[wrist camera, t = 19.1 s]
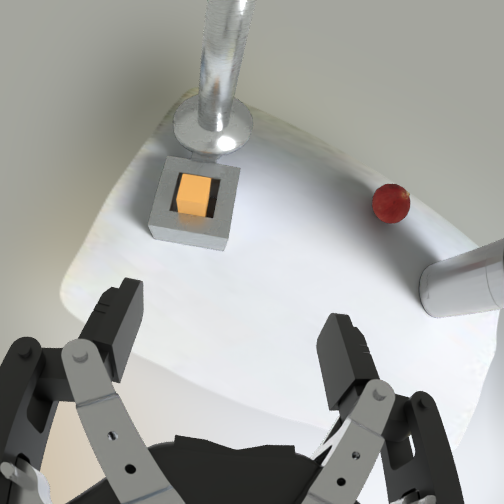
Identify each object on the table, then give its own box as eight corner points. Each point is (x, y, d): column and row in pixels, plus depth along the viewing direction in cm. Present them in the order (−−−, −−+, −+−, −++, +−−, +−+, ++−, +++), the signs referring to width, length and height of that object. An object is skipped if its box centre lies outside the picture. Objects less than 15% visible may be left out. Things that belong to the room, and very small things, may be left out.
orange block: (207, 210, 38) (211, 178, 30) (203, 232, 37) (205, 204, 29) (185, 206, 38) (182, 173, 29) (180, 228, 37) (176, 199, 28)
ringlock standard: (248, 130, 42) (310, -55, 13) (227, 252, 37) (320, 41, 8) (184, 119, 41) (195, -72, 12) (150, 238, 36) (65, 20, 7)
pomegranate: (358, 195, 43) (386, 172, 36) (386, 195, 44) (415, 173, 37) (368, 231, 42) (398, 212, 34) (396, 228, 43) (427, 211, 35)
